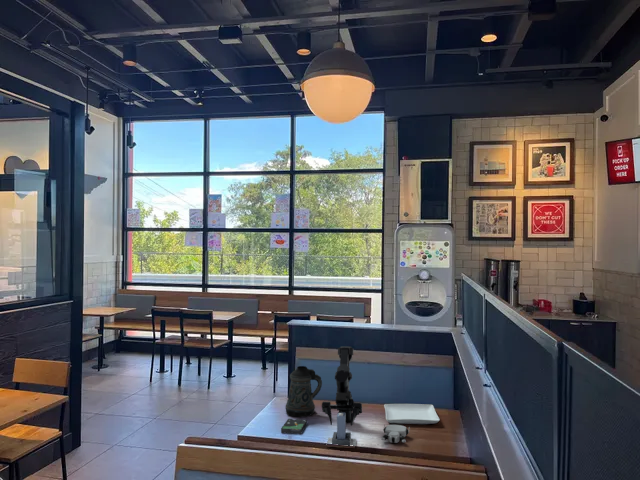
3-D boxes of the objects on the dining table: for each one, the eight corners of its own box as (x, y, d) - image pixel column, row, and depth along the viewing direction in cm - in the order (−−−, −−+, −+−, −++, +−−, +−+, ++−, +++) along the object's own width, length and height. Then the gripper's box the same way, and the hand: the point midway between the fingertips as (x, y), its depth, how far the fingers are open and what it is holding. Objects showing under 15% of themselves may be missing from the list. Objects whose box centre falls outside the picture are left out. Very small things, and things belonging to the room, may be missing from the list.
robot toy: (406, 448, 211) (410, 434, 225) (406, 438, 210) (409, 424, 225) (379, 445, 214) (384, 431, 228) (379, 435, 214) (384, 422, 228)
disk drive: (287, 424, 243) (280, 433, 228) (287, 418, 243) (280, 428, 229) (307, 425, 241) (301, 434, 227) (307, 419, 241) (301, 429, 227)
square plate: (432, 410, 262) (432, 403, 262) (440, 427, 235) (440, 419, 235) (384, 409, 265) (383, 402, 265) (386, 426, 238) (385, 418, 238)
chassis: (328, 439, 219) (328, 431, 220) (356, 440, 218) (356, 432, 218) (326, 447, 210) (326, 439, 210) (355, 448, 208) (355, 440, 208)
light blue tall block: (338, 439, 217) (337, 410, 217) (345, 440, 216) (345, 410, 217) (337, 444, 211) (336, 414, 212) (345, 444, 211) (344, 414, 211)
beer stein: (280, 410, 263) (280, 365, 264) (311, 405, 272) (311, 362, 274) (293, 419, 249) (292, 371, 250) (325, 413, 258) (324, 367, 259)
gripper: (321, 384, 220) (319, 415, 208) (361, 385, 218) (361, 416, 206) (323, 396, 227) (321, 427, 216) (362, 397, 225) (361, 428, 214)
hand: (341, 424), depth 213 cm, fingers open, 9 cm apart
